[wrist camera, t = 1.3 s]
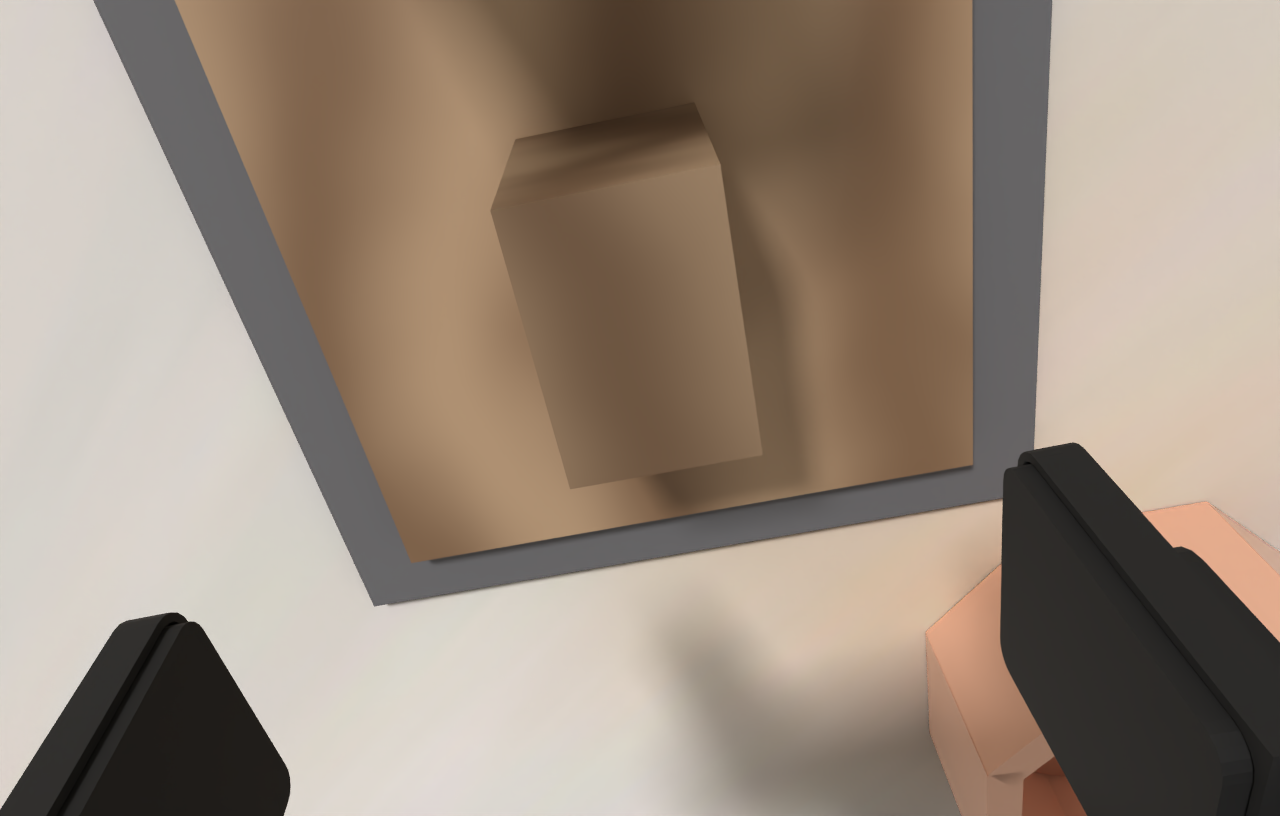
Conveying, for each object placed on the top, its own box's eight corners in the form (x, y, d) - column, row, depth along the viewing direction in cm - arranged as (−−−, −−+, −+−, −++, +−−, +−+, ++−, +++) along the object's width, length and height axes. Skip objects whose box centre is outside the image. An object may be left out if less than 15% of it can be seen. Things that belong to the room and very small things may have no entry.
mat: (1055, -387, 16) (1068, -394, 16) (1025, 483, 26) (1031, 492, 26) (39, -147, 18) (24, -148, 17) (377, 595, 28) (374, 606, 27)
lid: (957, -235, 17) (1103, -285, 12) (962, 449, 25) (1051, 588, 20) (169, -56, 18) (4, -34, 13) (416, 545, 26) (372, 701, 21)
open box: (1328, 481, 27) (1484, 608, 22) (1262, 745, 33) (1373, 890, 28) (922, 549, 28) (988, 687, 23) (931, 795, 34) (985, 944, 29)
